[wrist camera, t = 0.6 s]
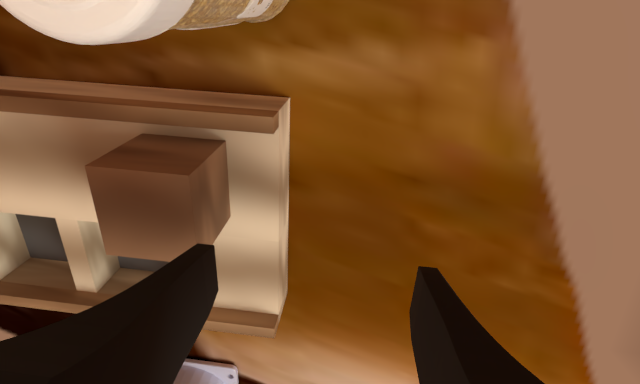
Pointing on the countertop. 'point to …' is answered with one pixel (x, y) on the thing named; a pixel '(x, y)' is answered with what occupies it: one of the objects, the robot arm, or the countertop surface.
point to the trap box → (78, 208)
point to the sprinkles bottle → (134, 17)
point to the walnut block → (160, 195)
